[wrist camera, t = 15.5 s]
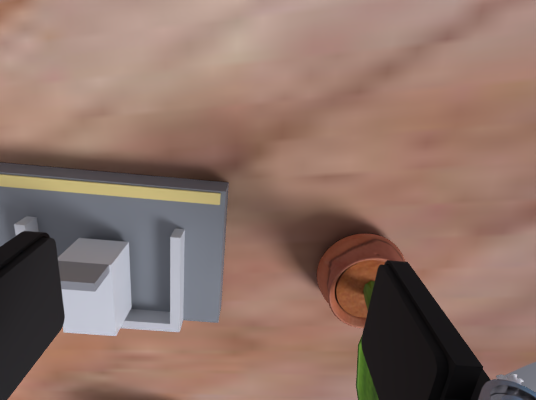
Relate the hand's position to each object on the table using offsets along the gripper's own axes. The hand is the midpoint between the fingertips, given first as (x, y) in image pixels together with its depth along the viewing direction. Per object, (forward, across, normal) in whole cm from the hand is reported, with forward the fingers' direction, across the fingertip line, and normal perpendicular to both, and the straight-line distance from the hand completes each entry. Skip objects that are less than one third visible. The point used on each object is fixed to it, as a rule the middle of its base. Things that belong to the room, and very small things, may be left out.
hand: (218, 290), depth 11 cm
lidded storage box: (+25, +14, +16) cm, 33 cm away
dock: (+28, +14, +14) cm, 35 cm away
